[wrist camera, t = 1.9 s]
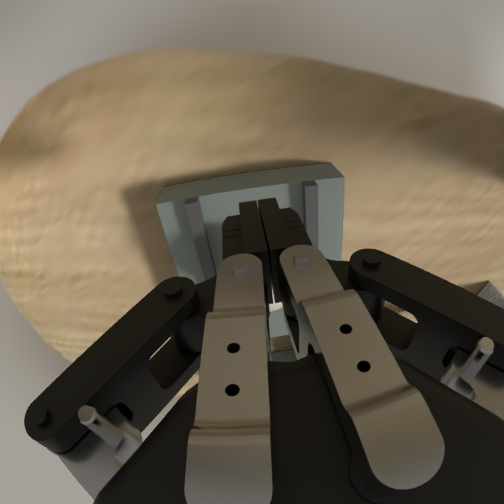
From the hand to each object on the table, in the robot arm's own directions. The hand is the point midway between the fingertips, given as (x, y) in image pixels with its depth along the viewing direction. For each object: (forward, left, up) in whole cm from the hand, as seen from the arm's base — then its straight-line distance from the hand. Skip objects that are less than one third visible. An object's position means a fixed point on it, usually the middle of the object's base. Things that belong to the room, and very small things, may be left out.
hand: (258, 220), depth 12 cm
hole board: (0, +18, -14) cm, 23 cm away
